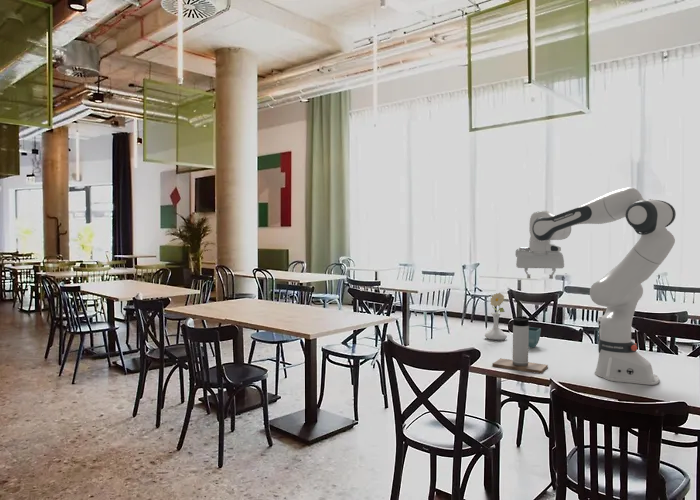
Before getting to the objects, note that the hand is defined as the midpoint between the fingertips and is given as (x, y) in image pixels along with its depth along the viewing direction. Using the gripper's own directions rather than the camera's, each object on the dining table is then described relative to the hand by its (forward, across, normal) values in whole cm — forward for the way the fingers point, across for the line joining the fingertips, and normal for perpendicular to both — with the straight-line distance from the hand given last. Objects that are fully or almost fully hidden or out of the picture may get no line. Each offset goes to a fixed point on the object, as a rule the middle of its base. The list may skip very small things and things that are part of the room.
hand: (539, 278), depth 237 cm
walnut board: (+36, -8, -17) cm, 41 cm away
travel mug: (+36, -8, -17) cm, 40 cm away
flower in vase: (+35, -20, +37) cm, 55 cm away
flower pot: (+36, -4, +25) cm, 44 cm away
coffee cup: (+36, +32, +37) cm, 61 cm away
